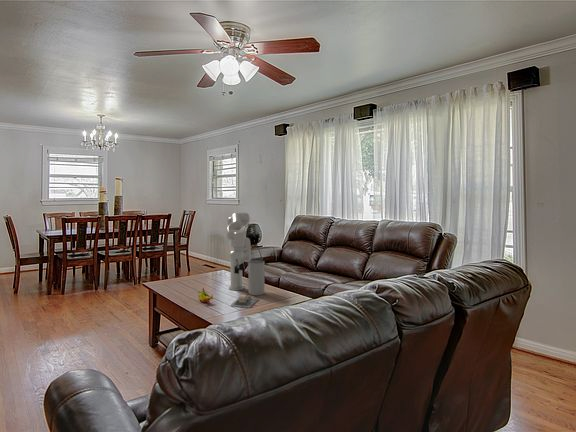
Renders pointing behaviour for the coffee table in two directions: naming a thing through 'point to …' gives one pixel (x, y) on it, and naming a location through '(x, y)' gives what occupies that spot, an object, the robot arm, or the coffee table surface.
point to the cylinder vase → (256, 277)
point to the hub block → (243, 298)
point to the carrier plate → (248, 304)
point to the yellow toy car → (204, 296)
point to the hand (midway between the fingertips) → (238, 271)
